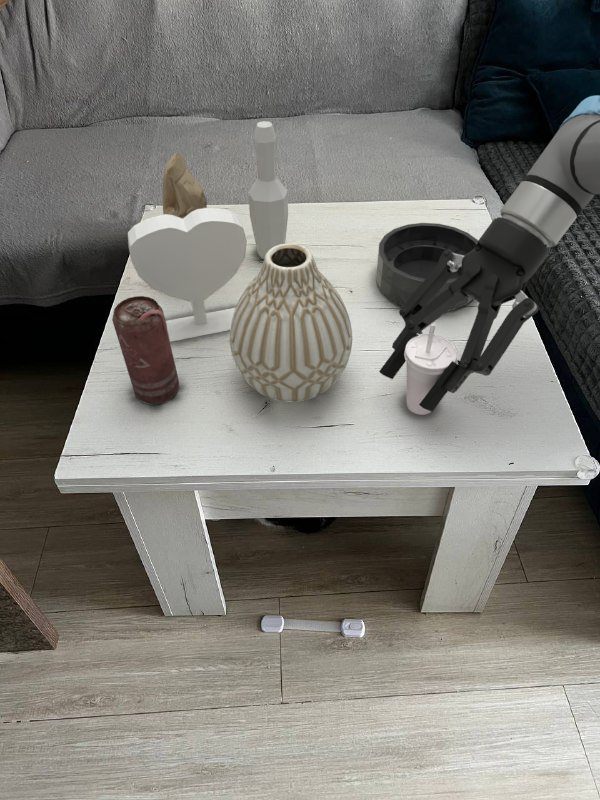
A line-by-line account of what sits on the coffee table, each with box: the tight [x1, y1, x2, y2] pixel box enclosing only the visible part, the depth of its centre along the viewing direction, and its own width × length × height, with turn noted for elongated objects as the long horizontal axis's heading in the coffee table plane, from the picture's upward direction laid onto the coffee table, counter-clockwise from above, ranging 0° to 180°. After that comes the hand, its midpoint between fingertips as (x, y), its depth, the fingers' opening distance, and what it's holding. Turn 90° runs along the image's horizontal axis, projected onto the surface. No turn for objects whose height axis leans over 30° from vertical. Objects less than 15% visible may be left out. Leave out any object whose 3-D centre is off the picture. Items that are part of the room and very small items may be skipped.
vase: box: [229, 242, 353, 403], centre depth 76 cm, size 16×16×20 cm
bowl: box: [375, 222, 479, 311], centre depth 96 cm, size 17×17×6 cm
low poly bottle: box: [247, 120, 289, 260], centre depth 97 cm, size 6×6×22 cm
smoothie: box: [404, 322, 458, 416], centre depth 75 cm, size 6×6×14 cm
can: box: [111, 295, 180, 406], centre depth 77 cm, size 6×6×14 cm
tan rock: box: [162, 152, 208, 219], centre depth 93 cm, size 13×7×20 cm, turn 171°
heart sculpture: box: [127, 207, 248, 343], centre depth 85 cm, size 16×5×18 cm, turn 107°
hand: (405, 391), depth 75 cm, fingers closed on smoothie, 6 cm apart
